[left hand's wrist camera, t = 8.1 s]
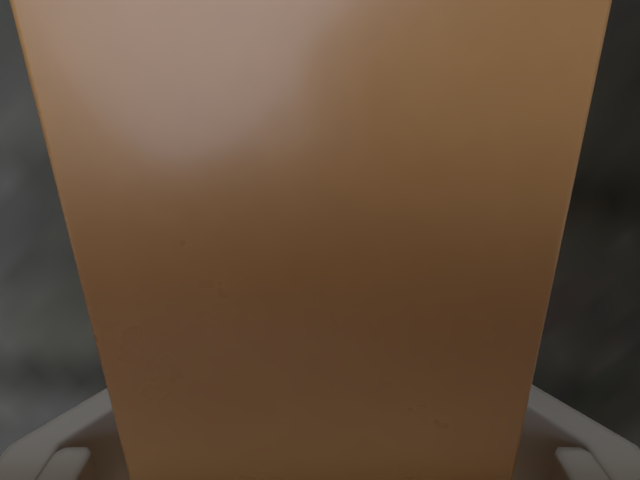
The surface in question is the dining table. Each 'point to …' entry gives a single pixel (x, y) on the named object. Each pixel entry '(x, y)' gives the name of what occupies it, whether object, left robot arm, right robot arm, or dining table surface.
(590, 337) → the dining table surface
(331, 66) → the post
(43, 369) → the dining table surface
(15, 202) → the dining table surface
